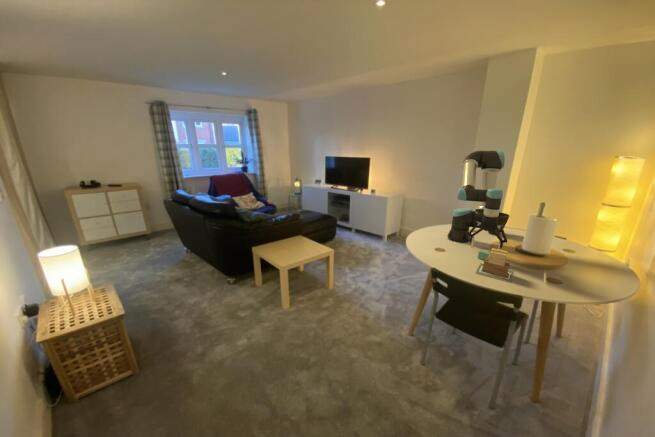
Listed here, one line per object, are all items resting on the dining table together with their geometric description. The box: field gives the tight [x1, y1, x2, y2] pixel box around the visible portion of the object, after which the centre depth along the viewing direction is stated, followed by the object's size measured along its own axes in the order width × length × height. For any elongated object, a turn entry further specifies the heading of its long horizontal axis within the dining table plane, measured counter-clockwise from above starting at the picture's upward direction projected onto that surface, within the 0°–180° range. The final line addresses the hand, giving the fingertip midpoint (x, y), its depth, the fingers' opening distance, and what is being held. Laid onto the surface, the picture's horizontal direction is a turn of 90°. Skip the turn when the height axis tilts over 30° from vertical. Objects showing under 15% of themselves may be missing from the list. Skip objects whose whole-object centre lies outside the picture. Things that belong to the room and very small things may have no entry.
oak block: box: [488, 247, 508, 266], centre depth 135 cm, size 7×7×6 cm
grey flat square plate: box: [474, 262, 515, 284], centre depth 138 cm, size 16×16×1 cm
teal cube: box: [477, 249, 490, 261], centre depth 155 cm, size 5×5×5 cm
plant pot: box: [487, 211, 510, 236], centre depth 199 cm, size 15×15×16 cm
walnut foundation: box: [482, 257, 510, 278], centre depth 137 cm, size 6×11×6 cm, turn 51°
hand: (484, 250), depth 153 cm, fingers open, 13 cm apart
